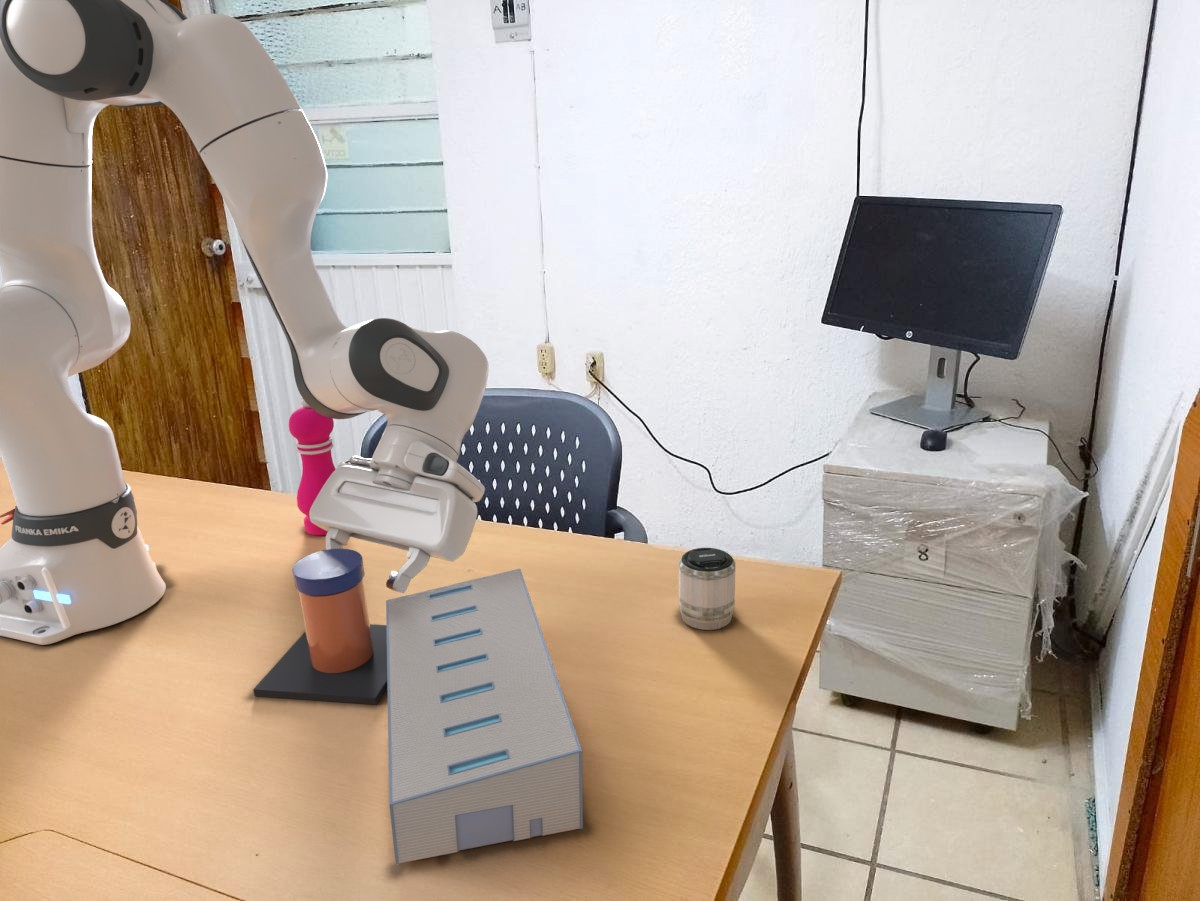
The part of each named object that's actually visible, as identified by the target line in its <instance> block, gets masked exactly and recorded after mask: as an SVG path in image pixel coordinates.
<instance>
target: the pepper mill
mask: <svg viewBox="0 0 1200 901" xmlns="http://www.w3.org/2000/svg"><path fill="white" fill-rule="evenodd" d="M300 404H301V407H299V408H297V409H296V410H294V411H293V412H292V413H291V414H290V417H289V418H288V419H289V420H288V430H289V433H290V434H291V436H292V437H293V438H295V440H296V442H295V446H296V453H298V454H300V459H301V465H302V466H301V467H302V472H301V478H300V482H299V485H298V488H297V493H296V502H297V503H296V505H297V507H298V510H299V511H300V512H301V513H302V514H303V515H304V518H303V525H304V530H305V532H306V533H307V534H309V535H311V536H326V535H327V533H328V531H326V530H324V529H322V528H320V527H318V526H317V525H315V524H313V523H312V522H311V521H310V514H309V512H310V509H311V507H312V505H313V503H314V501H315V499H316V497H317V496H318V494H319V492H320V491H321V489H322V487H323V486H324V484H325V483H326V481H327V480H328V478H329V477H330V476H331V474H332V473H333V472H334V471H335V470H336V467H335V464H334V461H333V456H332V449H333V448H334V443H333V437H332V436H331V434H332V433H333V431H334V426H335V421H334V419H333V418H329V417H326V416H323V415H321V414H319V413H318V412H316V411H315V410H313V409H312V408H311V407H310V406H309V405H308V404H307V403H306V402H305V401H304V399H303V398H302V397H301V400H300Z"/></svg>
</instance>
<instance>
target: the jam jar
mask: <svg viewBox="0 0 1200 901" xmlns="http://www.w3.org/2000/svg"><path fill="white" fill-rule="evenodd" d="M298 595H299V596H298V597H299V602H300V608H301V613H302V618H303V626H304V630H305V631H306V636H307V642H308V647H309V653H310V659H311V664H312V666H313V667H314V668H315V669H316V670H318V671H320V672H324V673H342V672H346V671H350V670H353V669H355V668H358V667H360V666H361V665H363V664H364V663H366V662H367V661H368V660H369V659H370V658H371V656H372V654H373V651H374V650H373V643H372V636H371V629H370V624H371V622H370V616H369V609H368V602H367V596H366V589H365V581H364V578H363V579H362V581H360V582H359V583H358V584H357V585H355V586H354V587H352V588H350V589H348V590H345V591H342V592H339V593H335V594H330V595H322V596H314V595H307V594H303V593H301V592H299V591H298ZM305 631H304V632H305Z"/></svg>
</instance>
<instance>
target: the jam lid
mask: <svg viewBox="0 0 1200 901" xmlns="http://www.w3.org/2000/svg"><path fill="white" fill-rule="evenodd" d="M291 570H292V576H293V581H294V587H295V589H296V590H297V591H298V593H299V592H301V593H303V594H307V595H314V596H322V595H330V594H335V593H339V592H342V591H345V590H348V589H350V588H352V587H354V586H355V585H357V584H358V583H359V582H360V581H362V579H363V580H364V577H365V575H366V574H365V573H366V572H365V565H364V560H363V556H362V554H361V553H360V552H359V551H357V550H355V549H350V548H342V549H329V550H326V549H324V550H319V551H316V552H313V553H310V554H308V555H305V556H303V557H302V558H300V559H299V560H297V561H296V562H295V563H294V564H293V566H292V569H291Z"/></svg>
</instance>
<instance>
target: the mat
mask: <svg viewBox="0 0 1200 901" xmlns="http://www.w3.org/2000/svg"><path fill="white" fill-rule="evenodd" d="M370 629H371V636H372V643H373V650H374V651H373V654H372V656H371V658H370V659H369V660H368V661H367V662H366V663H364V664H363V665H361V666H360V667H358V668H355V669H353V670H350V671H346V672H342V673H324V672H320V671H318V670H316V669H315V668H314V667H313V666H312V664H311V659H310V653H309V647H308V642H307V636H306V631H304V632H303V633H302V635H301V636H300V637H298V639H297V640H296V641H295V642H294V643H293V644H292V645H291V646H290V648H289V649H288V650H287V651H286V652H285V654H283V655H282V657H281V658H280V659H279V660H278V661H277V662H276V663H275V664H274V666H273V667H272V668H270V670H269V671H268V672H267V673H266V675H265V676H264V677H263V678H262V679H261V680H260V681H259V683H257V684H256V686H255V687H254V688H253V689H252V692H253V695H254V697H263V698H278V699H290V700H291V699H292V700H306V701H319V702H320V701H321V702H335V703H347V704H363V705H378V703H379V701H380V700H381V699H382V697H383V695H384V694H385V692H386V691H387V690H388V688H387V627H386V624H372V623H370Z"/></svg>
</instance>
